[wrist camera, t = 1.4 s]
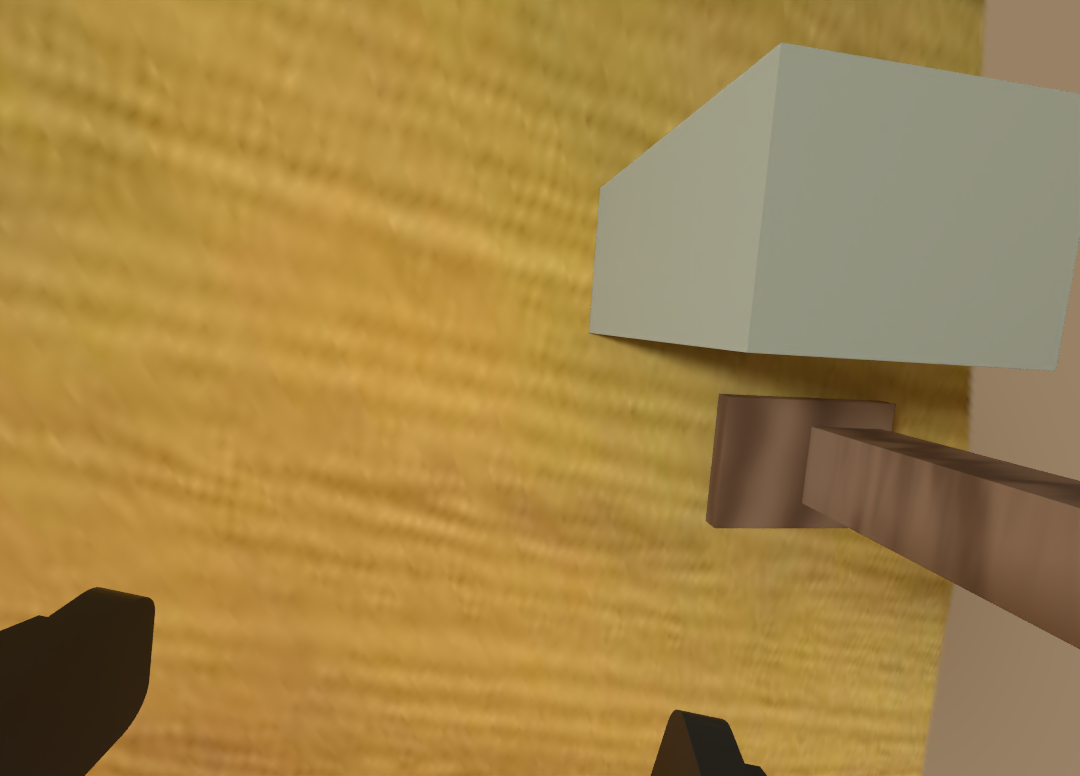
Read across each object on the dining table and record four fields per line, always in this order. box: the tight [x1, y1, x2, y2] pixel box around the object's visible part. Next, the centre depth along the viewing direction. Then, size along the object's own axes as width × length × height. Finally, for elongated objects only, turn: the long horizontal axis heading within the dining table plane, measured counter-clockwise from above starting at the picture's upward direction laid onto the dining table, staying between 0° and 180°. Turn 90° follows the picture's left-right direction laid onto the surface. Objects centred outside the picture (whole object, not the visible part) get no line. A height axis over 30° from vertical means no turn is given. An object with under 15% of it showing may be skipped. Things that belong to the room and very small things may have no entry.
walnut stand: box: [706, 394, 1080, 649], centre depth 28 cm, size 14×10×32 cm
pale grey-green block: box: [589, 43, 1080, 371], centre depth 30 cm, size 13×10×21 cm
